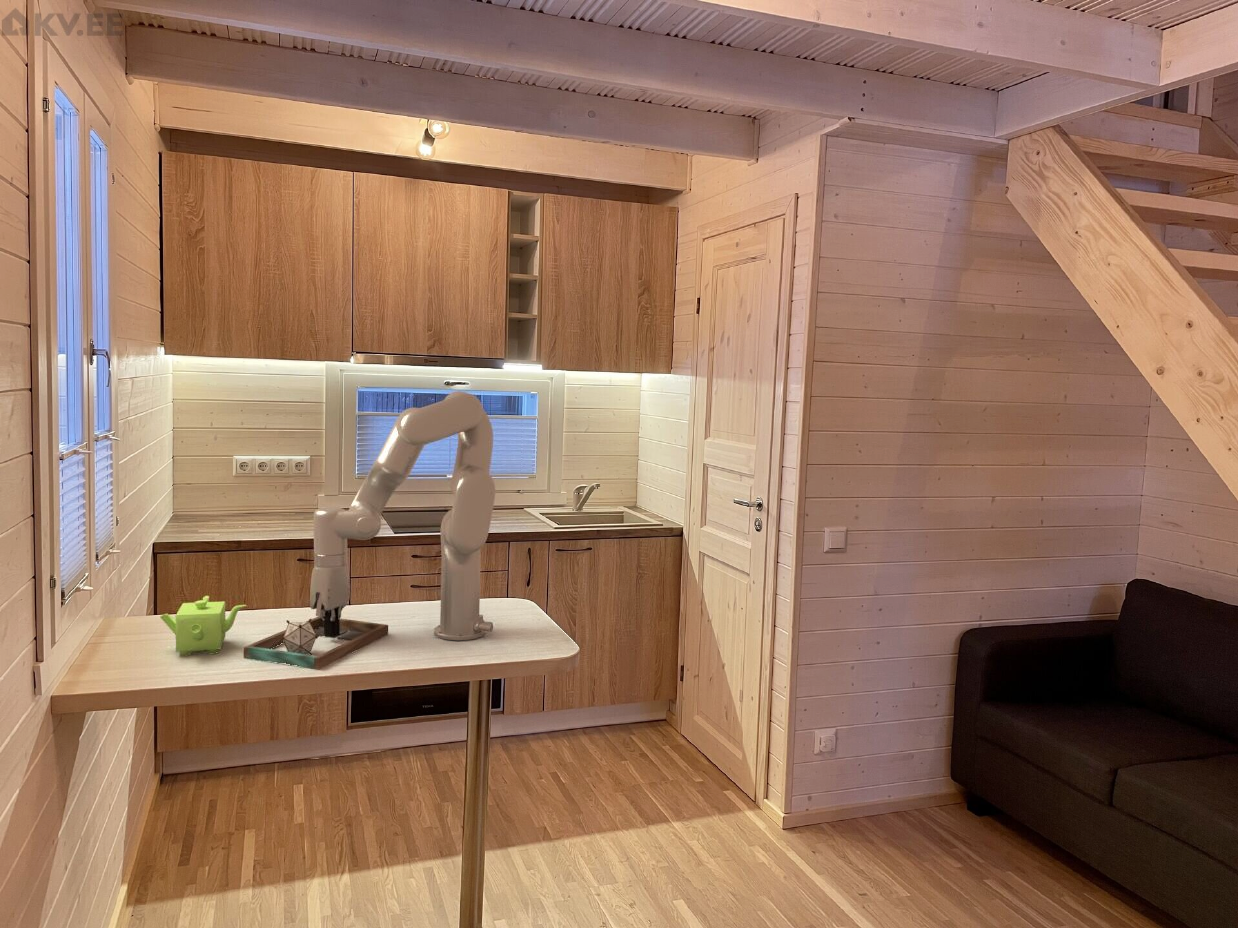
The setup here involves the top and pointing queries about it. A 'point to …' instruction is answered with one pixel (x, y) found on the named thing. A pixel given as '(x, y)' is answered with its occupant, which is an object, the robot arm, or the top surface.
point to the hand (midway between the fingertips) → (332, 635)
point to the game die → (299, 637)
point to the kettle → (200, 625)
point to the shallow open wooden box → (358, 635)
